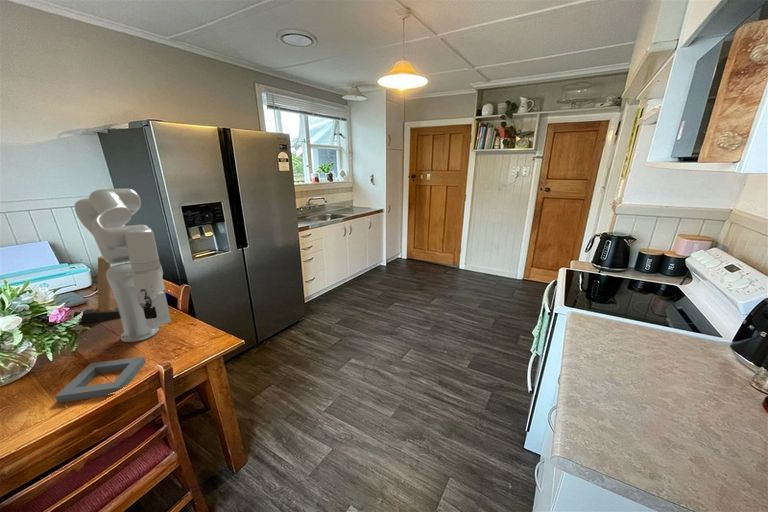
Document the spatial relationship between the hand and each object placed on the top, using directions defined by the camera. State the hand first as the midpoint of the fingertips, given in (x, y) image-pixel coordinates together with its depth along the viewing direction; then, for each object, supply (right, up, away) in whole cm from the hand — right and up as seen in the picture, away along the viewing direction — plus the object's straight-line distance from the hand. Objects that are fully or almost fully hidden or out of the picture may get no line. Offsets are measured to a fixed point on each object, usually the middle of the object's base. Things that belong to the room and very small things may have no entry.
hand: (156, 312), depth 103 cm
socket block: (-13, -22, -6) cm, 26 cm away
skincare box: (0, -5, +1) cm, 5 cm away
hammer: (-50, -9, +34) cm, 61 cm away
